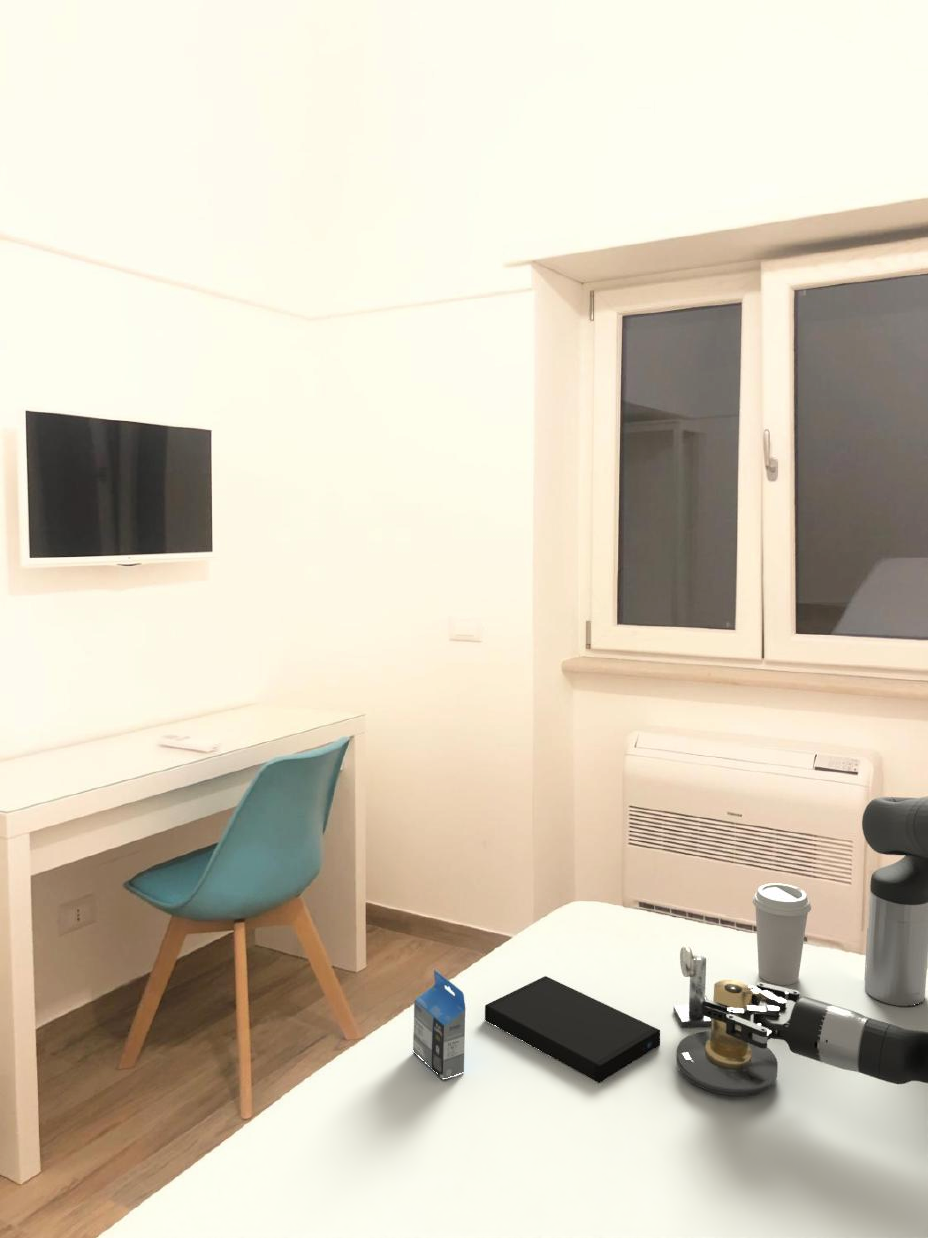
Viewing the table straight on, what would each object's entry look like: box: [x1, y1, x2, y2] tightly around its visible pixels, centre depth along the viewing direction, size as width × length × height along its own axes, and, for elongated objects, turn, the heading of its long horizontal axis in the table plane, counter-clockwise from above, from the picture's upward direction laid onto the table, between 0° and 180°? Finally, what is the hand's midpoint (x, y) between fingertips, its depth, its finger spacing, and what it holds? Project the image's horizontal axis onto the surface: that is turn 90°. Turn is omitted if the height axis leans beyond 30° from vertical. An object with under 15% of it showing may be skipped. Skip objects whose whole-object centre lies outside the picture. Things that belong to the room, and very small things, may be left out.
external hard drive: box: [484, 975, 661, 1084], centre depth 159 cm, size 14×23×3 cm, turn 43°
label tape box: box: [412, 969, 466, 1079], centre depth 150 cm, size 9×4×12 cm, turn 32°
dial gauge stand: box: [673, 946, 712, 1029], centre depth 159 cm, size 12×6×12 cm, turn 3°
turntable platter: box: [675, 1030, 779, 1096], centre depth 148 cm, size 14×14×2 cm
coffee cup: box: [752, 882, 812, 986], centre depth 176 cm, size 10×10×15 cm
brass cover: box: [705, 979, 752, 1069], centre depth 147 cm, size 6×6×10 cm
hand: (712, 997), depth 148 cm, fingers open, 6 cm apart
